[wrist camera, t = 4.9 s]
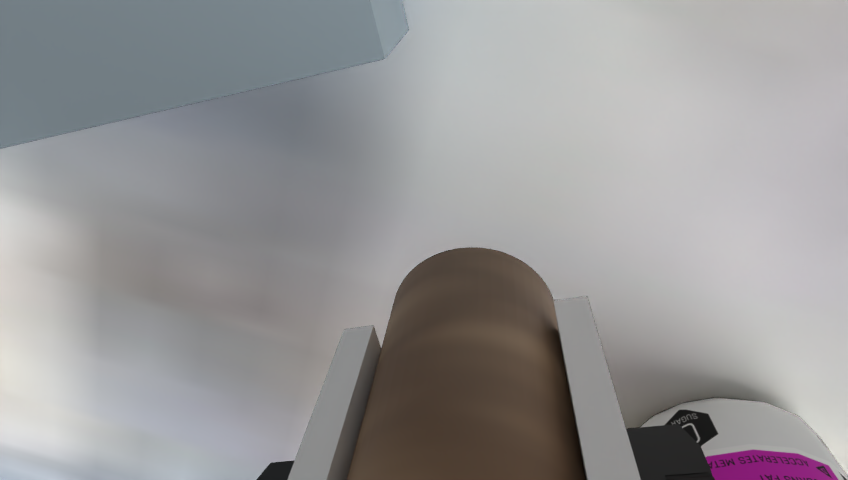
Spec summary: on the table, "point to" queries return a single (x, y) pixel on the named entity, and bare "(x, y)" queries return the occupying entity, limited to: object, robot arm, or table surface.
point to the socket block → (170, 54)
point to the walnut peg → (470, 378)
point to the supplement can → (753, 440)
